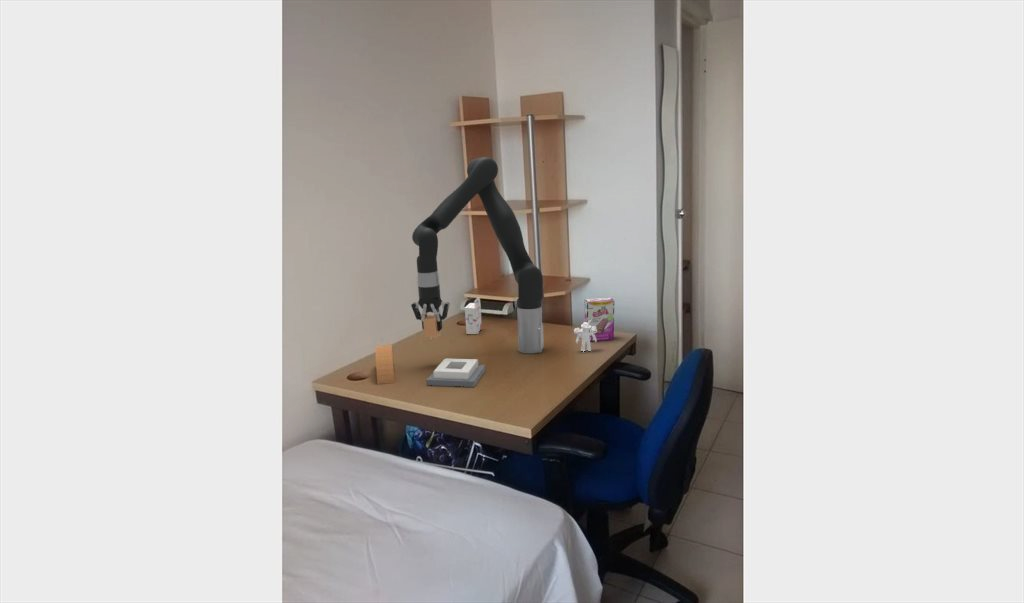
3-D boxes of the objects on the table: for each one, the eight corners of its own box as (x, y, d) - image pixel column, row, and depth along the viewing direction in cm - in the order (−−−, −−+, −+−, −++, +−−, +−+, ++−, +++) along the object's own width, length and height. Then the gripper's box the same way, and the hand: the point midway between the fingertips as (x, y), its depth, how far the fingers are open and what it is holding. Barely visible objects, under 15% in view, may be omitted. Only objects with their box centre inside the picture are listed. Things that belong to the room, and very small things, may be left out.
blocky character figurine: (595, 348, 243) (595, 317, 241) (599, 351, 240) (598, 320, 237) (572, 350, 242) (572, 320, 239) (576, 353, 238) (575, 322, 235)
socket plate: (485, 370, 223) (484, 358, 222) (473, 387, 208) (473, 374, 207) (441, 368, 227) (440, 356, 226) (426, 385, 211) (426, 372, 210)
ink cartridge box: (470, 329, 275) (469, 295, 271) (482, 329, 274) (480, 295, 270) (465, 334, 267) (463, 300, 263) (477, 335, 266) (475, 300, 262)
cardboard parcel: (441, 335, 231) (439, 314, 229) (436, 340, 226) (434, 318, 224) (429, 335, 232) (428, 314, 230) (424, 340, 226) (423, 318, 225)
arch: (394, 364, 234) (392, 337, 232) (394, 383, 215) (392, 354, 213) (378, 365, 233) (376, 339, 231) (376, 384, 214) (374, 356, 212)
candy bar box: (587, 342, 251) (586, 301, 247) (583, 338, 256) (583, 298, 252) (614, 340, 252) (614, 299, 249) (611, 336, 257) (611, 297, 253)
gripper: (451, 281, 226) (454, 327, 230) (412, 281, 229) (417, 327, 233) (445, 286, 219) (448, 334, 223) (405, 286, 222) (410, 333, 226)
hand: (432, 330), depth 228 cm, fingers closed on cardboard parcel, 4 cm apart
